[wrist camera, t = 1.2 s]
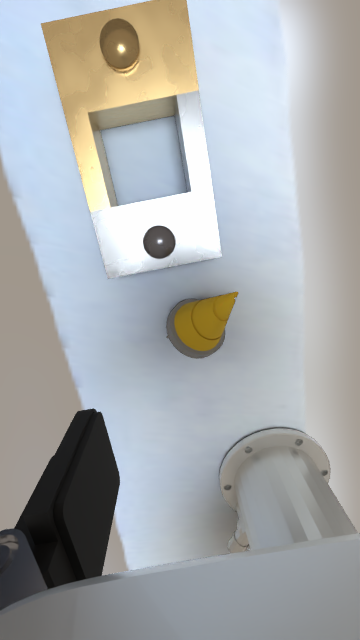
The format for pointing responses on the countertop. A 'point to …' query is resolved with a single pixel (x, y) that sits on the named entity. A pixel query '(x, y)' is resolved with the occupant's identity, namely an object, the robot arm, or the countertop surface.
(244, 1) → the countertop surface
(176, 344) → the yellow tiered cone
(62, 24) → the metal strike plate
